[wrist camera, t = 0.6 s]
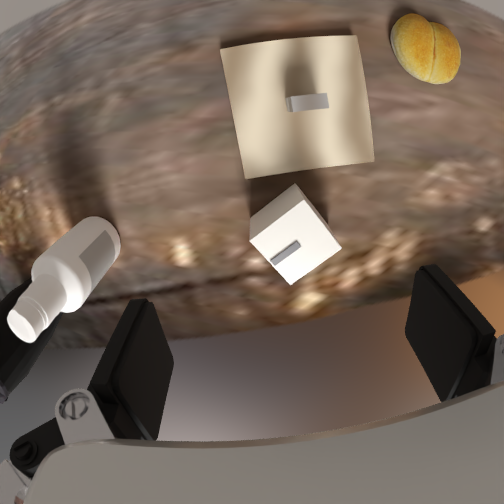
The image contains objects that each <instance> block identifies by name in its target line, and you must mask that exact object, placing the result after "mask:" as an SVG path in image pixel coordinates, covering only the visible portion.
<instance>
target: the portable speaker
mask: <svg viewBox="0 0 504 504" xmlns="http://www.w3.org/2000/svg"><path fill="white" fill-rule="evenodd" d="M31 283H32V278H30V279H29V280H27V281H26V282H24V283H23V284H21V285H20V286H18V287H17V288H15V289H14V290H12V291H11V292H10V293H9V294H8V295H7V296H6V297H5V298H4V299H3V300H2V301H1V302H0V403H1V404H3V402H4V401H7V399H8V396H9V394H10V393H11V392H12V391H13V390H14V389H15V387H16V386H17V385H18V384H19V383H20V382H21V381H22V380H23V379H24V378H25V377H26V376H27V375H28V373H29V371H30V369H31V368H32V366H33V365H34V363H35V362H36V360H37V359H38V357H39V355H40V354H41V352H42V351H43V349H44V348H45V346H46V345H47V343H48V341H49V340H50V338H51V337H52V335H53V333H54V331H55V328H56V326H57V324H58V322H59V320H60V318H61V316H62V314H63V312H60V313H59V314H58V315H57V316H56V317H55V318H54V319H53V321H52V322H51V323H50V325H49V326H48V327H47V328H46V329H44V330H43V331H42V332H41V333H40V334H39V336H38V337H37V339H36V340H35V341H34V342H32V343H28V342H25V341H23V340H21V339H20V338H19V337H17V336H16V335H15V334H14V332H13V331H12V330H11V328H10V327H9V324H8V321H7V317H8V314H9V312H10V311H11V310H12V308H13V307H14V306H15V305H16V303H17V301H18V298H19V297H20V296H21V295H22V294H23V293H24V292H25V291H26V290H27V288H28V287H29V285H30V284H31Z"/></svg>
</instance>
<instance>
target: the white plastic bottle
mask: <svg viewBox="0 0 504 504" xmlns="http://www.w3.org/2000/svg"><path fill="white" fill-rule="evenodd" d="M120 247H121V245H120V237H119V235H118V233H117V230H116V229H115V228H114V227H113V225H112V224H111V223H109V222H108V221H107V220H105V219H103V218H100V217H87V218H85V219H83V220H82V221H80V222H79V223H78V224H77V225H75V226H74V227H73V228H72V229H71V230H69V231H68V232H67V233H66V234H65V235H63V236H62V237H61V238H60V239H59V240H57V241H56V242H55V243H54V244H53V245H52V246H50V247H49V248H48V249H47V250H46V251H45V252H44V253H43V254H41V255H40V256H39V257H38V258H37V259H36V261H35V262H34V263H33V267H32V270H31V275H32V283H31V284H30V285H29V287H28V288H27V290H26V291H25V292H24V293H23V294H22V295H21V296H20V297H19V298H18V301H17V303H16V305H15V306H14V307H13V308H12V310H11V311H10V312H9V314H8V317H7V321H8V324H9V327H10V328H11V330H12V331H13V332H14V334H15V335H16V336H17V337H19V338H20V339H21V340H23V341H25V342H28V343H32V342H34V341H35V340H36V339H37V337H38V336H39V334H40V333H41V332H42V331H43V330H44V329H46V328H47V327H48V326H49V325H50V323H51V322H52V321H53V319H54V318H55V317H56V316H57V315H58V314H59V313H60V312H66V313H69V312H74V311H76V310H77V309H78V308H80V307H81V306H82V304H83V303H84V301H85V300H86V299H87V297H88V296H89V295H90V293H91V292H92V290H93V289H94V288H95V286H96V285H97V284H98V282H99V281H100V280H101V278H102V277H103V276H104V274H105V273H106V272H107V270H108V269H109V268H110V266H111V265H112V264H113V262H114V261H115V260H116V258H117V257H118V255H119V253H120Z"/></svg>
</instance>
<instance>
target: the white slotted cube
mask: <svg viewBox="0 0 504 504" xmlns="http://www.w3.org/2000/svg"><path fill="white" fill-rule="evenodd" d="M250 242H251V243H252V244H253V245H254V246H255V247H256V248H257V249H258V250H259V251H260V253H261V254H262V255H263V256H264V257H265V258H266V259H267V260H268V261H269V262H270V263H271V264H272V266H273V267H274V268H275V269H276V270H277V271H278V272H279V273H280V274H281V275H282V276H283V277H284V278H285V280H286V281H287V282H288V283H289V284H290V285H291V284H292V283H294V282H295V281H297V280H298V279H300V278H301V277H302V276H304V275H305V274H307V273H308V272H310V271H311V270H312V269H314V268H315V267H317V266H318V265H319V264H321V263H322V262H324V261H325V260H326V259H328V258H329V257H331V256H332V255H333V254H335V253H336V252H338V251H339V250H340V249H342V248H341V246H340V245H339V243H338V241H337V239H336V238H335V236H334V234H333V232H332V231H331V229H330V227H329V226H328V224H327V223H326V221H325V220H324V219H323V218H322V216H321V215H320V214H319V212H318V211H317V210H316V209H315V207H314V206H313V205H312V203H311V202H310V201H309V200H308V198H307V197H306V196H305V195H304V193H303V192H302V191H301V190H300V188H299V187H298V186H297V185H296V183H294V184H293V185H292V186H291V187H289V188H288V189H287V190H285V191H284V192H283V193H281V194H280V195H279V196H278V197H276V198H275V199H274V200H272V201H271V202H270V203H269V204H267V205H266V206H265V207H264V208H262V209H261V210H260V211H258V212H257V213H256V214H255V215H253V216H252V217H251V218H250Z"/></svg>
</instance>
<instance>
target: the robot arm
mask: <svg viewBox="0 0 504 504" xmlns="http://www.w3.org/2000/svg"><path fill="white" fill-rule="evenodd" d="M495 332H496V331H495V329H494V328H493V327H492V326H491V324H490V323H489V322H488V321H487V320H486V318H485V317H484V316H483V315H482V314H481V313H480V311H479V310H478V309H477V308H476V307H475V306H474V305H473V303H472V302H471V301H470V300H469V299H468V298H467V297H466V296H465V294H464V293H463V292H462V291H461V290H460V289H459V288H458V287H457V286H456V285H455V284H454V283H453V282H452V281H451V279H450V278H449V277H448V276H447V275H446V274H445V273H444V272H443V271H442V270H441V269H440V268H439V267H438V266H437V265H436V264H431V265H425V266H421V267H420V268H419V271H416V274H415V279H414V285H413V291H412V297H411V303H410V307H409V313H408V317H407V322H406V327H405V335H406V338H407V339H408V341H409V343H410V345H411V347H412V348H413V350H414V352H415V353H416V356H417V357H418V359H419V361H420V363H421V365H422V366H423V368H424V370H425V372H426V374H427V376H428V378H429V380H430V382H431V383H432V385H433V387H434V389H435V391H436V393H437V395H438V397H439V399H440V401H441V403H438V404H435V405H432V406H429V407H426V408H423V409H419V410H416V411H413V412H409V413H406V414H402V415H398V416H395V417H391V418H387V419H383V420H379V421H375V422H370V423H366V424H361V425H356V426H352V427H347V428H341V429H336V430H330V431H324V432H318V433H311V434H304V435H296V436H288V437H279V438H269V439H257V440H241V441H215V442H214V441H210V442H192V441H191V442H189V441H156V440H157V438H158V434H159V429H160V424H161V419H162V415H163V410H164V405H165V401H166V396H167V392H168V387H169V383H170V379H171V375H172V370H173V365H174V361H173V356H172V353H171V351H170V348H169V346H168V343H167V340H166V338H165V335H164V332H163V329H162V327H161V324H160V321H159V318H158V315H157V313H156V310H155V307H154V304H153V303H152V302H149V301H148V300H147V299H146V298H144V299H132V300H130V301H129V303H128V305H127V307H126V309H125V311H124V313H123V315H122V317H121V319H120V321H119V323H118V325H117V327H116V329H115V331H114V333H113V335H112V337H111V339H110V341H109V343H108V345H107V347H106V349H105V351H104V353H103V355H102V358H101V360H100V362H99V364H98V366H97V368H96V370H95V373H94V375H93V377H92V380H91V381H90V384H89V386H88V389H87V390H85V389H73V390H70V391H68V392H67V393H65V394H64V395H62V396H61V398H60V399H59V400H58V402H57V404H56V406H55V416H56V417H55V418H53V419H52V420H50V421H48V422H46V423H45V424H43V425H41V426H39V427H38V428H36V429H34V430H32V431H30V432H29V433H27V434H25V435H23V436H21V437H20V438H19V439H17V440H16V441H15V442H14V443H13V445H12V447H11V450H10V460H9V461H7V460H6V459H5V460H4V461H3V462H2V463H1V464H0V504H504V334H503V335H501V336H499V337H498V338H496V337H495V336H494V334H495Z"/></svg>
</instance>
